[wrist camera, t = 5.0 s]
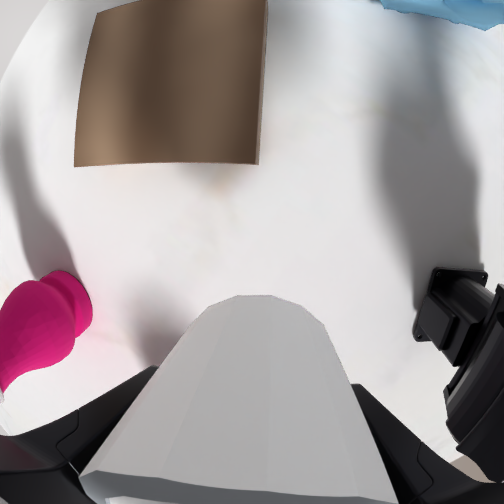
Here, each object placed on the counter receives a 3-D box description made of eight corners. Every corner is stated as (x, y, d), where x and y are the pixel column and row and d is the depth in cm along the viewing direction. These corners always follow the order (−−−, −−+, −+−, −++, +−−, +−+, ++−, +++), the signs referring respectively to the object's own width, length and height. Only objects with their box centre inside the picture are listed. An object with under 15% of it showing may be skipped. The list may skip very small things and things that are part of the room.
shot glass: (385, 334, 9) (461, 496, 3) (281, 433, 11) (275, 564, 4) (220, 236, 9) (90, 413, 2) (146, 370, 11) (73, 502, 4)
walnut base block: (267, 8, 14) (266, -14, 11) (258, 165, 17) (255, 163, 14) (115, 26, 15) (97, 13, 12) (98, 165, 18) (73, 167, 15)
